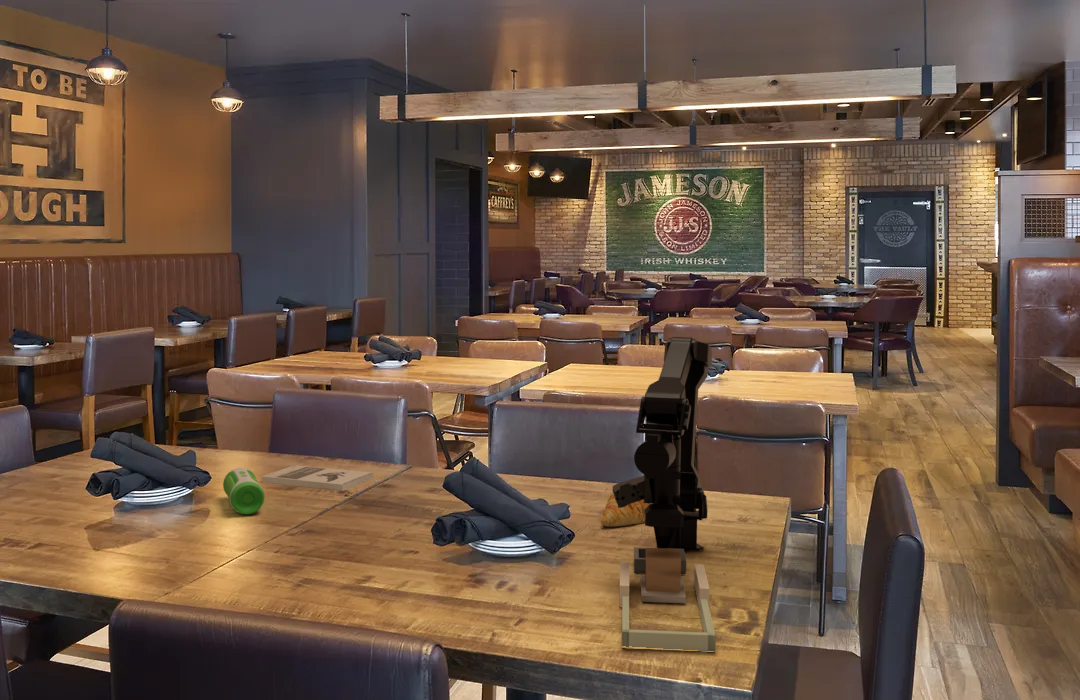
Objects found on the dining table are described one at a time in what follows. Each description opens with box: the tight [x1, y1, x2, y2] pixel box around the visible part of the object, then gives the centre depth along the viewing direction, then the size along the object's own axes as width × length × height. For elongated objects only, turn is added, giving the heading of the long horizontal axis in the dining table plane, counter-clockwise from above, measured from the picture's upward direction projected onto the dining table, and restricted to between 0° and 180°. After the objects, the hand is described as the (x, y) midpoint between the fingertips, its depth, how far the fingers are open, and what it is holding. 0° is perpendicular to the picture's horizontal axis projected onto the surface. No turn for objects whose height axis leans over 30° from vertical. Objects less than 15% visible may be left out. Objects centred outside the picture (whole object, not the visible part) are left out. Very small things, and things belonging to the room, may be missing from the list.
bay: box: [621, 595, 716, 652], centre depth 144 cm, size 14×13×2 cm
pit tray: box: [633, 546, 687, 575], centre depth 173 cm, size 7×9×2 cm
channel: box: [619, 561, 710, 610], centre depth 159 cm, size 12×14×4 cm
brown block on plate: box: [640, 547, 687, 604], centre depth 160 cm, size 10×7×6 cm
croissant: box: [600, 493, 650, 528], centre depth 206 cm, size 21×10×8 cm, turn 146°
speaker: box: [222, 467, 266, 515], centre depth 213 cm, size 18×7×8 cm, turn 23°
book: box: [260, 464, 374, 492], centre depth 239 cm, size 23×14×2 cm, turn 69°
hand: (661, 554), depth 166 cm, fingers closed
